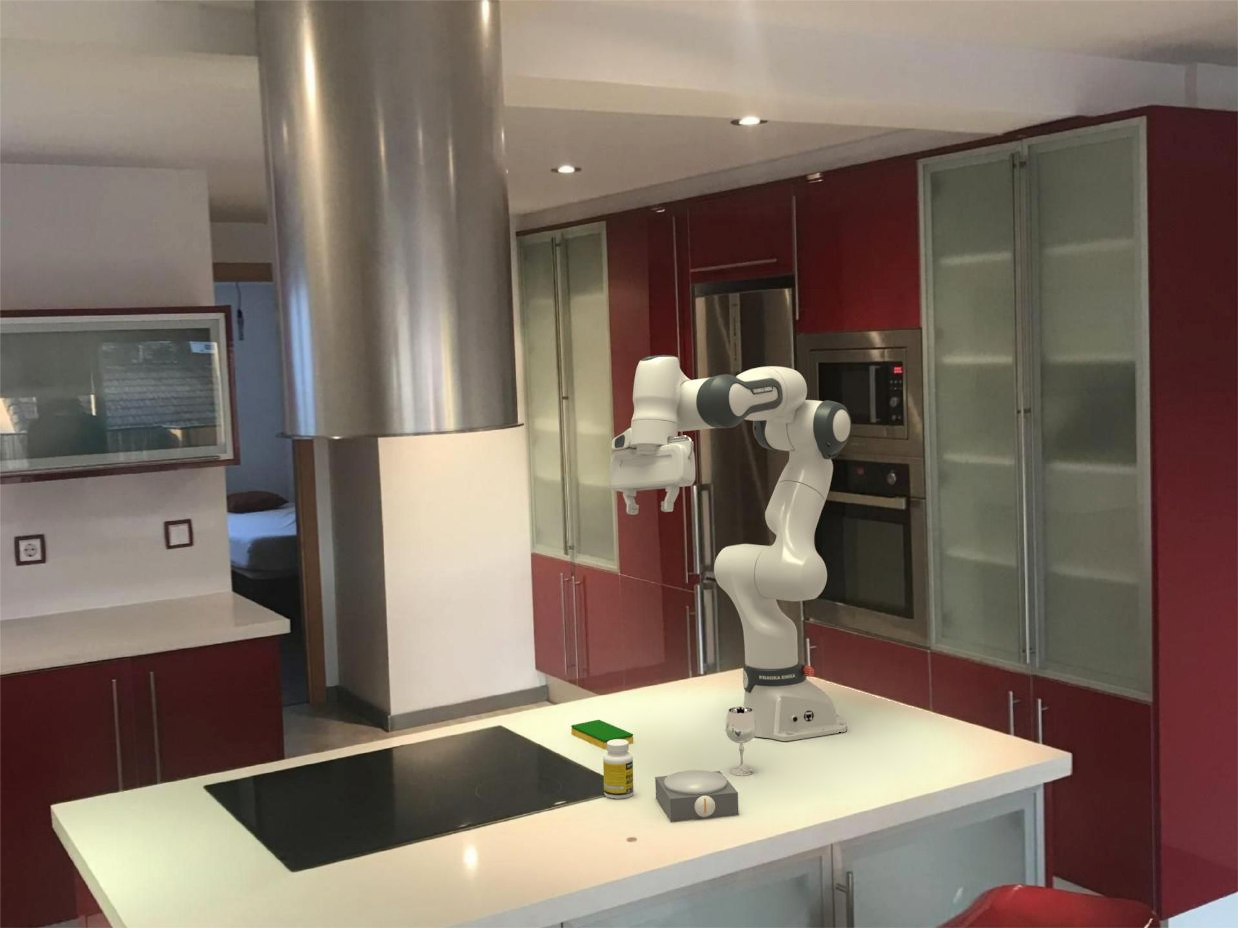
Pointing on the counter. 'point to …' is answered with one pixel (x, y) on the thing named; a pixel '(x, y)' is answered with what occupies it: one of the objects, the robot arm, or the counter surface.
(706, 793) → the kitchen scale
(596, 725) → the dish sponge
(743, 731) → the wineglass
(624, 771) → the supplement bottle
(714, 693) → the counter surface
